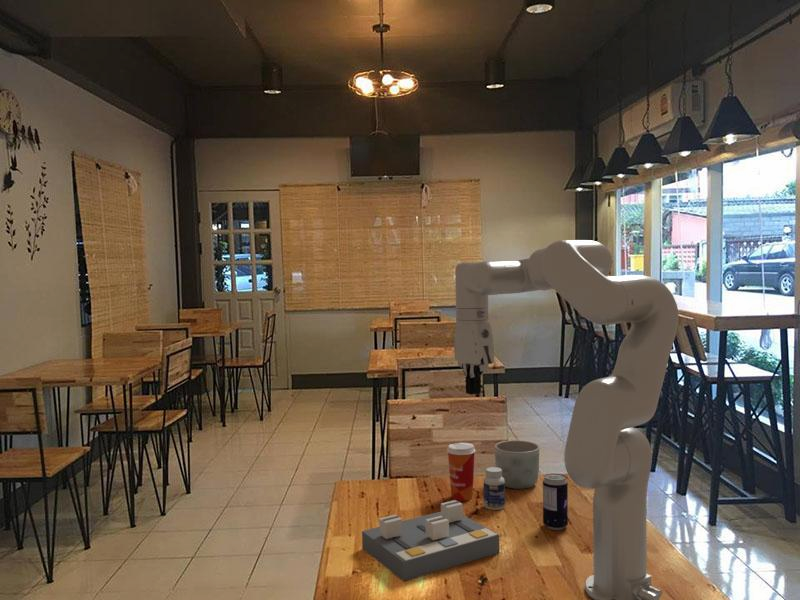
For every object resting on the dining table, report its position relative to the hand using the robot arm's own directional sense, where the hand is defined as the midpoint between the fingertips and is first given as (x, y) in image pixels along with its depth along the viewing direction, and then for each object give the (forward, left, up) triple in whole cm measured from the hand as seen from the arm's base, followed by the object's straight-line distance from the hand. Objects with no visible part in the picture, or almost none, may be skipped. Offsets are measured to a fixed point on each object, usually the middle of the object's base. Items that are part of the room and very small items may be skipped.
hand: (473, 393), depth 158 cm
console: (-5, +16, -32) cm, 36 cm away
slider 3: (-2, +8, -28) cm, 29 cm away
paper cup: (+18, -9, -32) cm, 38 cm away
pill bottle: (+8, -12, -32) cm, 35 cm away
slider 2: (-8, +16, -28) cm, 33 cm away
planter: (+18, -28, -32) cm, 46 cm away
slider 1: (-2, +24, -28) cm, 37 cm away
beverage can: (-10, -16, -32) cm, 37 cm away
